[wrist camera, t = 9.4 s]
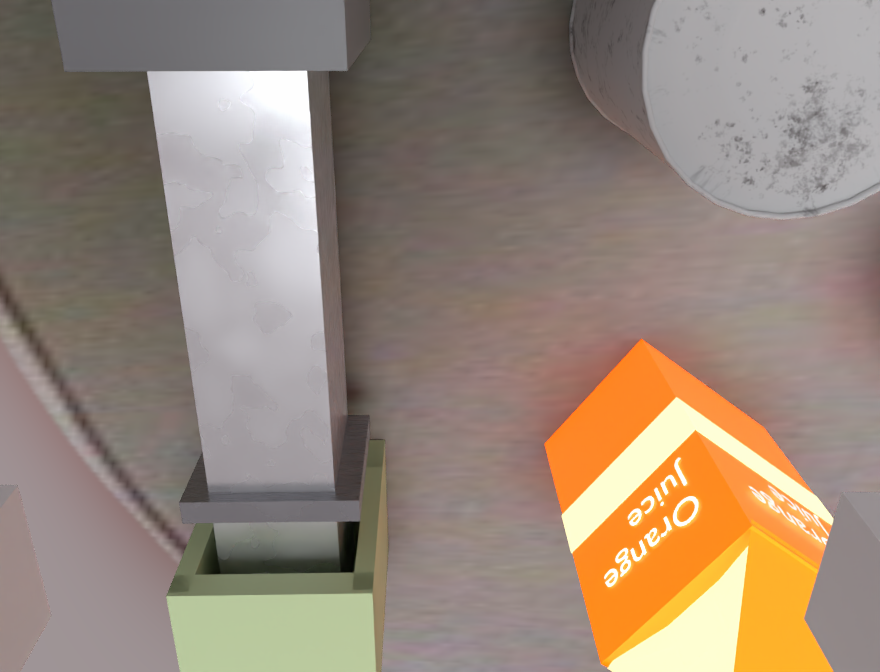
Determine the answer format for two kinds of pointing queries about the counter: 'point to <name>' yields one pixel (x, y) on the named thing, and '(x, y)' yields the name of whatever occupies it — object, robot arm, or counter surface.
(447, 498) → the counter surface
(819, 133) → the gray cylinder
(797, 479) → the orange juice
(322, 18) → the sleeve
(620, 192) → the counter surface
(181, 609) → the socket
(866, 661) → the robot arm
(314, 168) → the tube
